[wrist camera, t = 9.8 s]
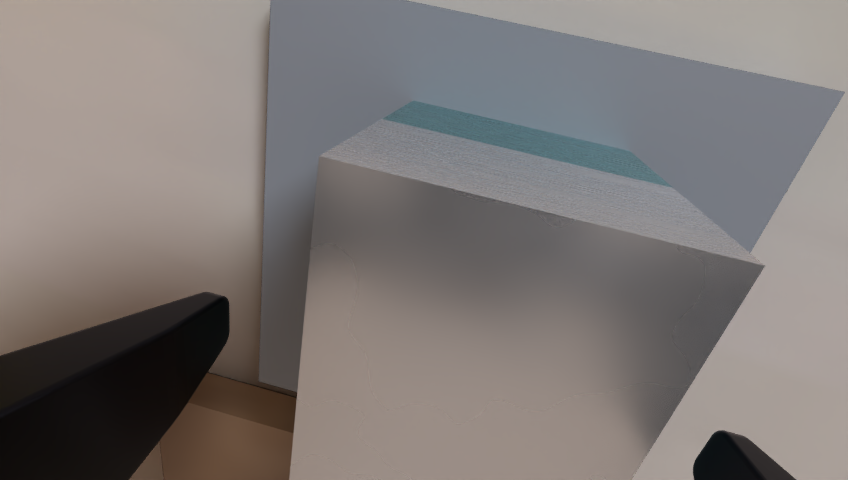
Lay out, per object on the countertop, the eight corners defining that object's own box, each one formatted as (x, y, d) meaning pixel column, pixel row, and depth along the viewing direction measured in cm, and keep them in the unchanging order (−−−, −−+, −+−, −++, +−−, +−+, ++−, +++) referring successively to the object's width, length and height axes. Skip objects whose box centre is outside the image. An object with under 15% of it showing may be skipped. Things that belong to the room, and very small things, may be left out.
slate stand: (798, 85, 10) (845, 91, 9) (604, 443, 15) (614, 482, 14) (300, -19, 11) (271, -29, 9) (279, 352, 16) (258, 381, 15)
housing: (524, 407, 13) (535, 633, 8) (366, 362, 13) (282, 553, 8) (630, 150, 10) (765, 265, 5) (413, 100, 10) (319, 156, 5)
